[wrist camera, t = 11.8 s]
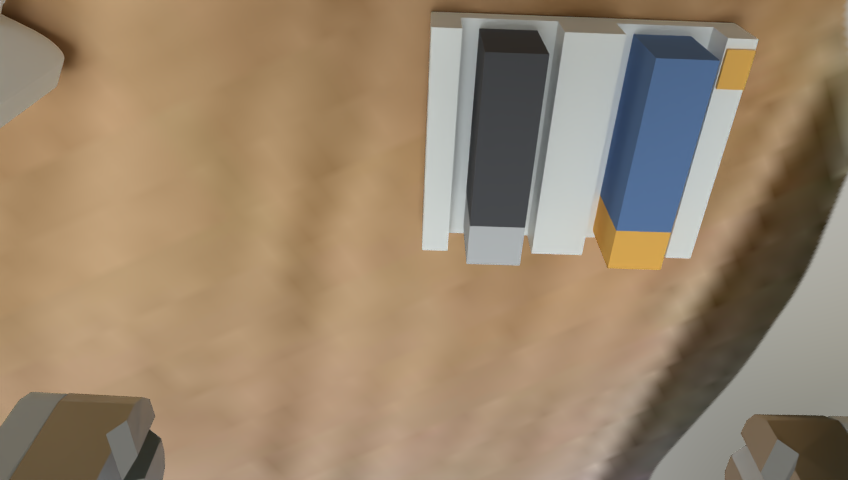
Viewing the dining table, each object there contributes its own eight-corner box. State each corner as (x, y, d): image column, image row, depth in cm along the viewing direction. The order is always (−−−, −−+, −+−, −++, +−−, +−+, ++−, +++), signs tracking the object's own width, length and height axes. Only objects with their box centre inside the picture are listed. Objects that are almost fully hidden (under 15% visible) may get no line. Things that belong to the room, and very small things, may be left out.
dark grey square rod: (479, 28, 34) (485, 51, 30) (537, 30, 34) (549, 54, 30) (463, 226, 40) (466, 263, 37) (511, 227, 40) (519, 265, 37)
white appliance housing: (430, 11, 34) (431, 28, 32) (734, 22, 35) (760, 40, 32) (422, 223, 41) (422, 251, 39) (674, 231, 42) (691, 260, 39)
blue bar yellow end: (633, 34, 34) (656, 58, 31) (691, 36, 34) (720, 60, 31) (592, 230, 40) (607, 268, 37) (640, 232, 40) (660, 269, 37)
